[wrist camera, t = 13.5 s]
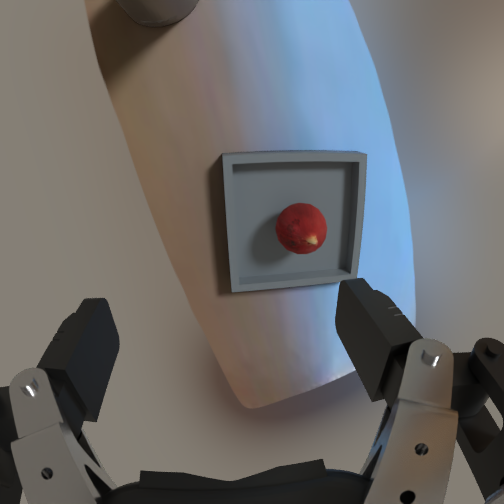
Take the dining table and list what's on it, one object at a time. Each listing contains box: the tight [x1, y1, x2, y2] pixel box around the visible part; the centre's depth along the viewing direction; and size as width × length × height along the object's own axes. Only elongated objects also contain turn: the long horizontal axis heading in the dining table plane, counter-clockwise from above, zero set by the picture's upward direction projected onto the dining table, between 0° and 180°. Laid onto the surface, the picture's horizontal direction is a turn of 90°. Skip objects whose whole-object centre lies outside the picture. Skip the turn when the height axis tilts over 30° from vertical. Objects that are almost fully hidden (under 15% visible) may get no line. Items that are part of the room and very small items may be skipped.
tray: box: [222, 150, 367, 292], centre depth 37 cm, size 17×17×3 cm
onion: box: [275, 203, 327, 254], centre depth 34 cm, size 6×6×8 cm
